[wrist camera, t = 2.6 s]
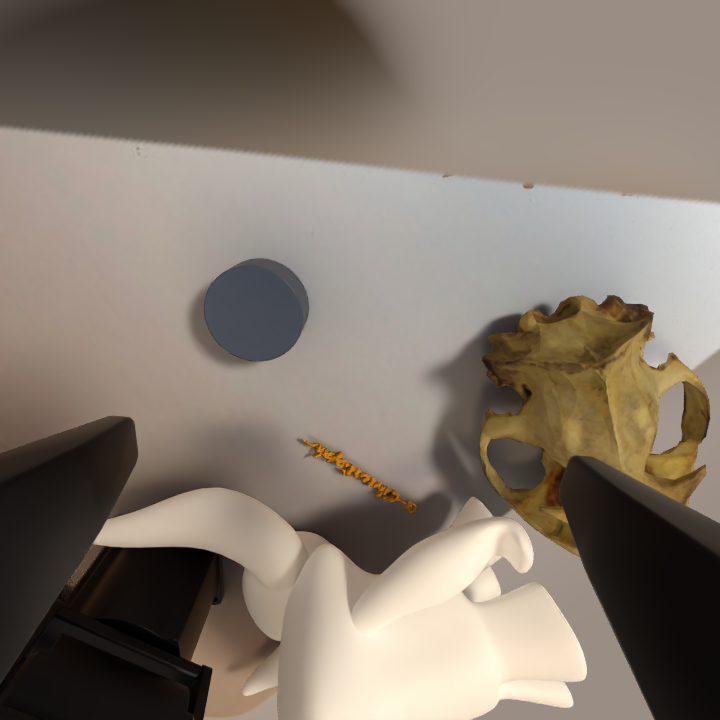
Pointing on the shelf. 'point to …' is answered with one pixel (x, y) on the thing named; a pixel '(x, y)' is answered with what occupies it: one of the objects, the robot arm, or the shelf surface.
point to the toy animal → (378, 613)
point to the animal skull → (590, 404)
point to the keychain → (356, 471)
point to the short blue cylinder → (256, 309)
